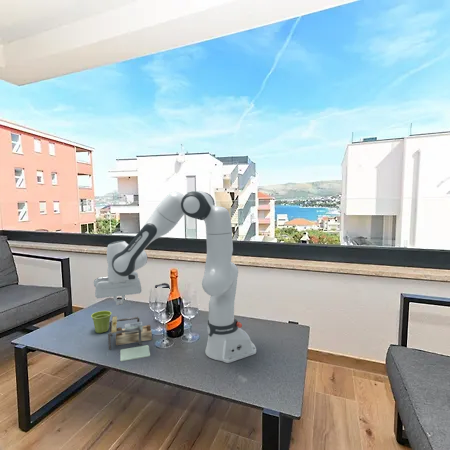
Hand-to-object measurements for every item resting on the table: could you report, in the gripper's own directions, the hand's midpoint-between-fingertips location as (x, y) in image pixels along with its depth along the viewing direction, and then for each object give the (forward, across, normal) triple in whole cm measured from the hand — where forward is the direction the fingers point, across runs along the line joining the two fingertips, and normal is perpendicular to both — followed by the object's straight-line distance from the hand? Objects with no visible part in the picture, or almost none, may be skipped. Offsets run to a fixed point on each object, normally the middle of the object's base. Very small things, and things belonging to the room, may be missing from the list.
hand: (119, 304), depth 135 cm
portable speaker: (+18, +22, +17) cm, 33 cm away
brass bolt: (+10, -3, 0) cm, 10 cm away
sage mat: (+18, +6, -14) cm, 23 cm away
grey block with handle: (+15, +6, 0) cm, 16 cm away
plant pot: (+18, -9, +14) cm, 25 cm away
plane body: (+18, +4, 0) cm, 18 cm away
